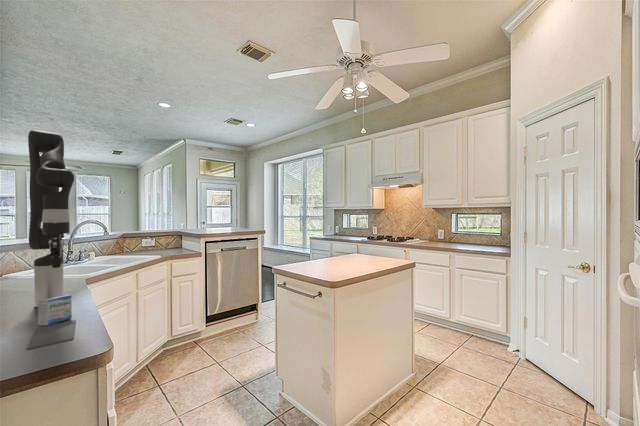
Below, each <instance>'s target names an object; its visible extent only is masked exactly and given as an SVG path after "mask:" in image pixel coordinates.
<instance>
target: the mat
mask: <svg viewBox="0 0 640 426" xmlns="http://www.w3.org/2000/svg"><path fill="white" fill-rule="evenodd" d="M75 328H76V319H74V320H69V321H68V320H67V321H62V322H58V323H55V324H52V325H49V326H43V325H40V326H37V327H36V328H35V330H34V332H33V334H32V335H31V336H32V337H31V339H30V341H29V343H28V345H27V348H26V350H27V351H28V350H32V349H38V348H42V347H45V346H50V345H56V344H60V343H64V342H68V341H73V340H74V336H75Z"/></svg>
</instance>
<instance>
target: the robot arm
mask: <svg viewBox="0 0 640 426" xmlns="http://www.w3.org/2000/svg"><path fill="white" fill-rule="evenodd" d="M27 137H28V138H27V142H28V143H27V144H28V156H29V205H30V207H29V208H30V211H29V212H30V214H29V215H30V217H29V231H28V244H29V248H30V249H31V250H36V251H37V250H49V252H50V253H49V254H46V255H43V256H40V257H37V258H36V259H34V261H33V266H34V268H33V270H34V271H33V275H34V276H33V277H34V278H33V279H34V283H33V284H34V289H33V290H34V302H33V303H34V307H36V308H38V301H40V300H45V299H49V298H54V297H58V296H63V295H64V293H65V288H64V280H65V279H64V242H65V235H66V234H69V233H70V230H71V229H70V225H71V224H70V213H69V211H70V210H69V197H70V192H71V190H72V188H73V185H74V182H75V175H74V173H73V172H72V171H71V170H69V169H66V164H65V161H64V159H65V158H64V157H65V142H64V138H63V136H62V135H61V134H59V133H56V132H55V133H54V132H50V131H42V130H37V129H32V130H30V131H29V132H28V136H27ZM40 153H43V154H42V155H40ZM60 188H61V190H60ZM41 226H42V227H41Z"/></svg>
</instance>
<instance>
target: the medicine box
mask: <svg viewBox="0 0 640 426" xmlns="http://www.w3.org/2000/svg"><path fill="white" fill-rule="evenodd" d="M72 302H73V301H72V295H71V294H70V295H69V294H65V295H63V296H58V297H54V298H49V299H45V300H40V301H38V307H37V314H38V316H37V317H38V319H37V321H38V326H49V325H52V324H57V323H63V322H66V321H68V320H71V319H72V315H73V314H72V313H73V311H72V304H73V303H72Z"/></svg>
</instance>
